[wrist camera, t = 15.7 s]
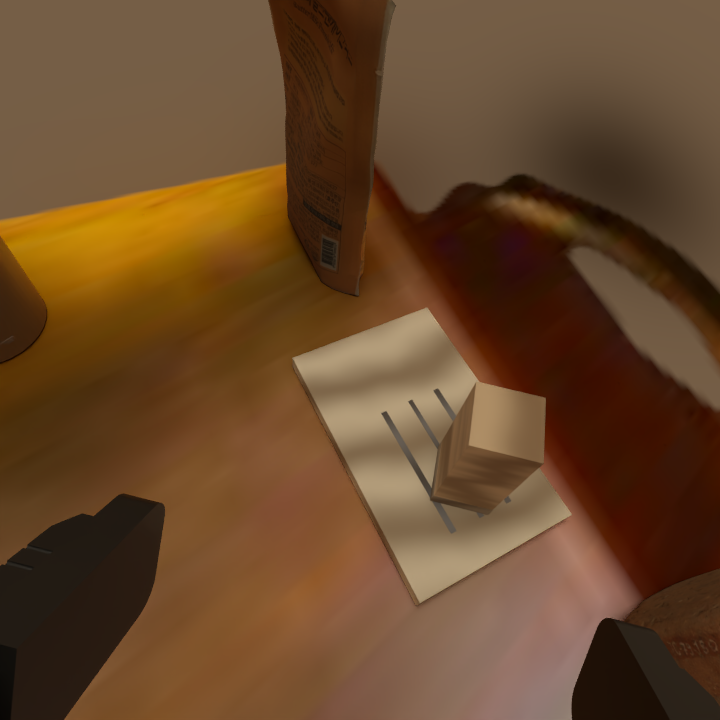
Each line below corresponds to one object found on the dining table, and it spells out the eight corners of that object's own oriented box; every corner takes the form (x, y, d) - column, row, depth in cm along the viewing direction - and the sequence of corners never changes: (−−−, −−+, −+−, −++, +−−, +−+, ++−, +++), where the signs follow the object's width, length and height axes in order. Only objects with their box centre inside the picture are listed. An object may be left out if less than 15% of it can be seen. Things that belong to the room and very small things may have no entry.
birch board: (292, 366, 47) (292, 357, 46) (424, 316, 52) (427, 307, 50) (416, 605, 38) (419, 603, 36) (563, 519, 42) (572, 514, 41)
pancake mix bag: (321, 320, 50) (338, -5, 27) (257, 190, 59) (227, -143, 35) (384, 301, 52) (452, -18, 28) (313, 178, 61) (321, -146, 37)
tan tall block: (429, 500, 40) (468, 445, 31) (438, 446, 43) (475, 380, 33) (487, 514, 40) (543, 464, 31) (492, 460, 43) (546, 397, 33)
